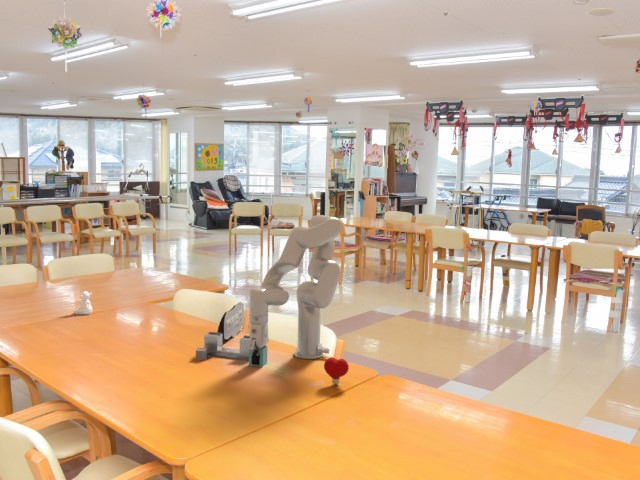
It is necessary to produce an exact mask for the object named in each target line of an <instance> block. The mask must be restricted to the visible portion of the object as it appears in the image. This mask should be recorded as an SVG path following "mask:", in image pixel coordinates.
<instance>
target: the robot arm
mask: <svg viewBox="0 0 640 480" xmlns="http://www.w3.org/2000/svg"><path fill="white" fill-rule="evenodd" d="M342 230H343V224H342V221H341V220H340V219H339V218H337V217H335V216H328V215H325V214H324V215H323V214H317V215H314V216H312V217H311V218H310V221H309V226H308V227H306V226H296V227H294V228H293V229H292V230H291V231H290V233H289V236H288V238H287V240H286V243H285V245H284V248H283V250H282V252H281V255H280V257H279V259H278V260H277V261H276V262H275V263H274V264H273V265H272V266H271V267H270V268H269V269H268V270H267V273H266V274H265V276H264V278H263V281H262V283H261V285H260V286H257V287H252V288H251V289H250V290H249V306H248V307H249V310H248V311H249V312H248V313H249V314H248V315H249V318H248V319H249V323H250V325H249V326H250V328H249V336H250V341H249V342H250V347H251V349H250V351H251V355H252V365H259V364H260V355H259V349H261V348H263V347H264V346H265V345H266V346H267V344H268V343H269V324H268V323H269V306H276V307H277V306H284V305H285V304H287V302H288V301H289V299H290V293H289V292H288V290H287V289H285V288H284V287H282V286H279V285H280V283H281V280H282V279H283V278H284V277H285V276H286V275H287V274H288V273H290V272H292V271H294V270H296V269H298V268H299V267H300V264H301V262H302V260H303V257H304V255H305V253H306V250H307V249H308V250H313V251H312V255H311V258H310V261H309V264H308V267H307V275H308V276H309V277H310V278H312V279H313V280H316V281H317V282H315V281H314V282H313V281H311V280H310V281H309V280H306V281H303V282H301V283H300V284H299V285H298V286H297V289H296V301H297V309H298V311H297V314H298V315H297V349H294V350H293V355H294V356H295V358H298V359H302V360H303V359H304V360H315V359H320V358H321V357H323V356H324V354H328V355H329V354H330V348H328V347H324V346H323V345H322V344H323V343H321V318H322V317H321V316H322V315H321V310H323V309H326V308H328V307H329V305H330V304H331V303H332V301H333V298H334V296H335V293H336V292H337V291H336V290H337V288H338V284H339V283H340V279H341V268H340V265H339V264H338V263H337V262H336V261H334V260H333V257H334V254H335V250H336V241H335V239H336V238H337V237H338V236H339V235H340V234H341V232H342ZM255 346H257V347H255ZM255 349H257V351H256V350H255Z"/></svg>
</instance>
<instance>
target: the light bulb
mask: <svg viewBox="0 0 640 480" xmlns="http://www.w3.org/2000/svg"><path fill="white" fill-rule="evenodd" d="M323 368H324V371H325V373H326V374H327V375H328V376H329V377H330V378H332V379H331V380H332V382H331V383H332V384H333V385H335V386H337V385H339V384H340V379H341V377H344V376H345V375H346V374H347V373H348V372H349V364H348V361H347V360H346V359H344V358H339V359H337V358H335V357H329V358H327V359H326V360H325V361H324V363H323Z"/></svg>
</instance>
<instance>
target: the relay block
mask: <svg viewBox="0 0 640 480" xmlns="http://www.w3.org/2000/svg"><path fill="white" fill-rule="evenodd" d="M207 359H208V356H207V348H204V347H197V349H196V350H195V361H206V360H207Z"/></svg>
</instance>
